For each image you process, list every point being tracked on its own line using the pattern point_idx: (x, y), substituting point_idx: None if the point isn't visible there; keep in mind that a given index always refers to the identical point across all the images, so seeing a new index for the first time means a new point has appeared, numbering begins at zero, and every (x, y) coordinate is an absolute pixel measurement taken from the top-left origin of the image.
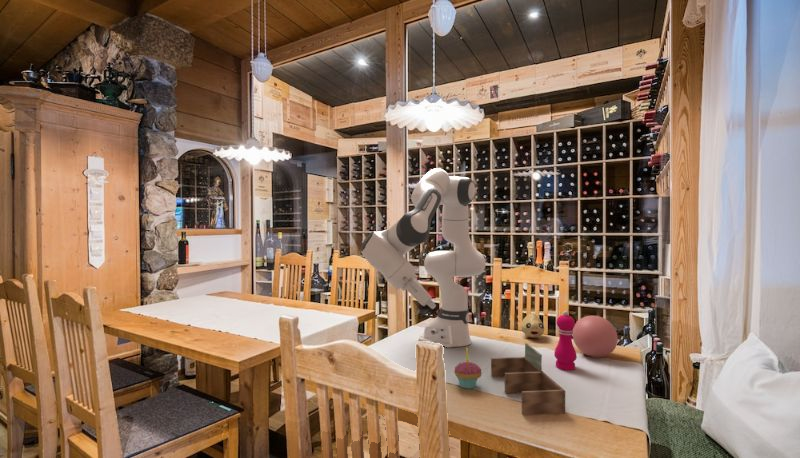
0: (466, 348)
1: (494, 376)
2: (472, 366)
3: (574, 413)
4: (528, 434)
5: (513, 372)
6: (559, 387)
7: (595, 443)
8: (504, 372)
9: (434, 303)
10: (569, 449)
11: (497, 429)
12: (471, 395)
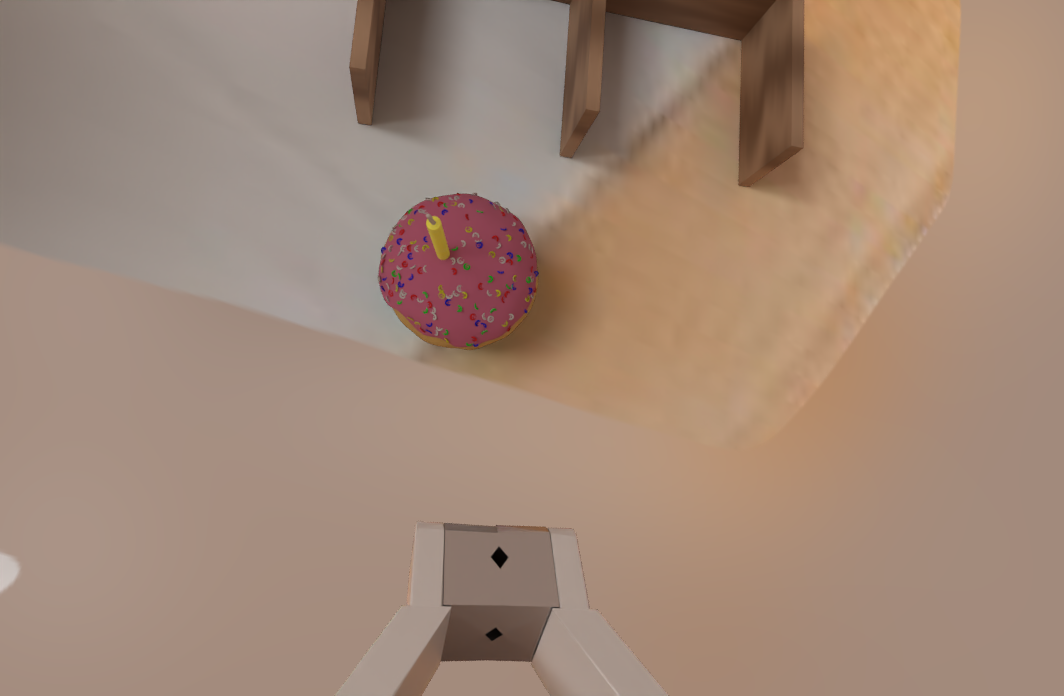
0: (437, 227)
1: (372, 110)
2: (501, 246)
3: None
4: (866, 238)
5: (383, 4)
6: None
7: (922, 73)
8: (378, 48)
9: (578, 563)
10: (944, 165)
11: (831, 325)
12: (562, 313)
